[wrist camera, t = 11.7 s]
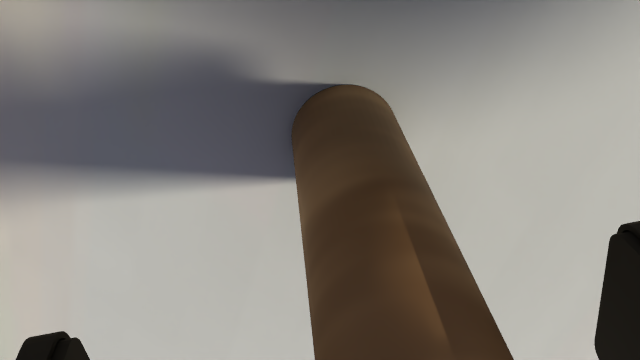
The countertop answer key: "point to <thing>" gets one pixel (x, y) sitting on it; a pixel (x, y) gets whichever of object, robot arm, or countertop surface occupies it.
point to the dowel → (380, 242)
